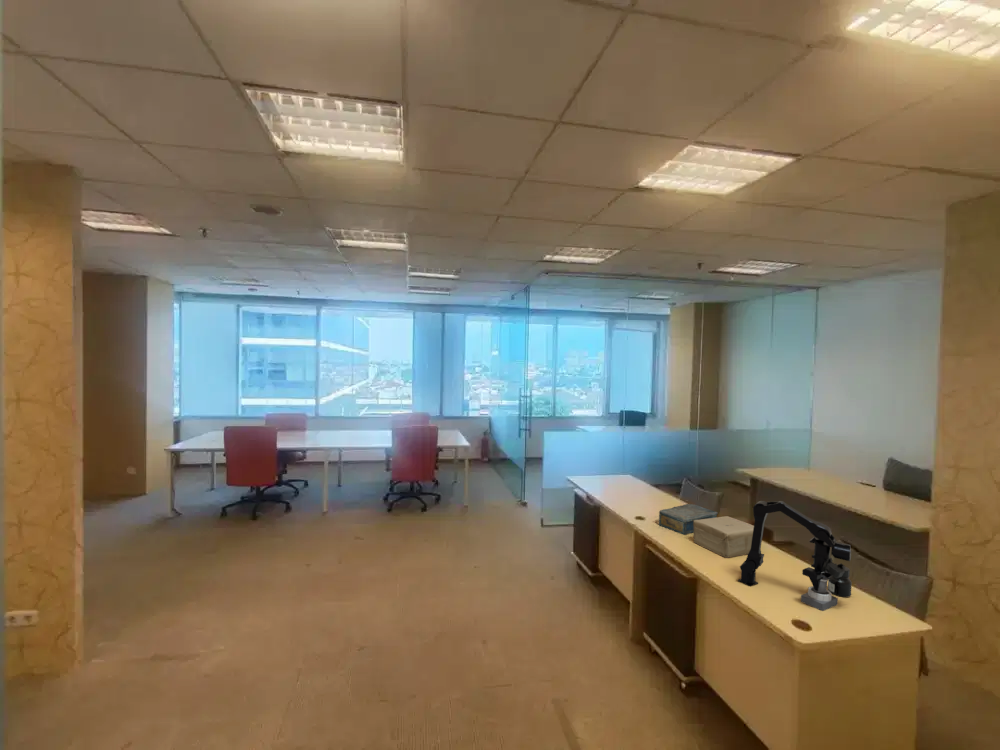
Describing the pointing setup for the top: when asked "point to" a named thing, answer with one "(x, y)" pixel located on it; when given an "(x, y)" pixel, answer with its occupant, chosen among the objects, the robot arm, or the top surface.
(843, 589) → the ink bottle
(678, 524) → the metal box
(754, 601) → the top surface
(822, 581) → the lens
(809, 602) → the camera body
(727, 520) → the paper package
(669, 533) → the top surface
